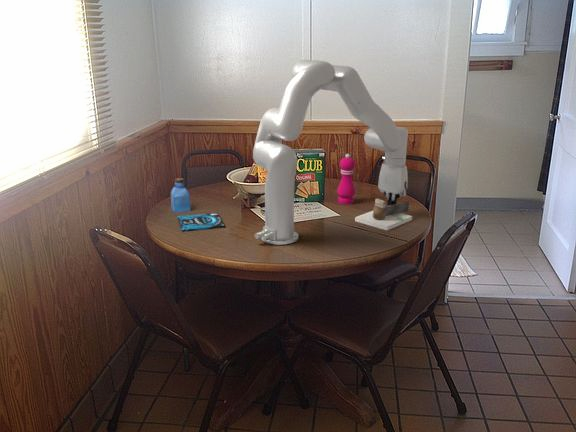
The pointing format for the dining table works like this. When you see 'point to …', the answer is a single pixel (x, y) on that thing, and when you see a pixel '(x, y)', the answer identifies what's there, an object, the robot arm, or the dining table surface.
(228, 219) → the dining table surface
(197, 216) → the guitar string package
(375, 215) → the brown grey handled piece
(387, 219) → the dial board
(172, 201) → the perfume bottle
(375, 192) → the dining table surface
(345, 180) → the pepper mill
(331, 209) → the dining table surface
